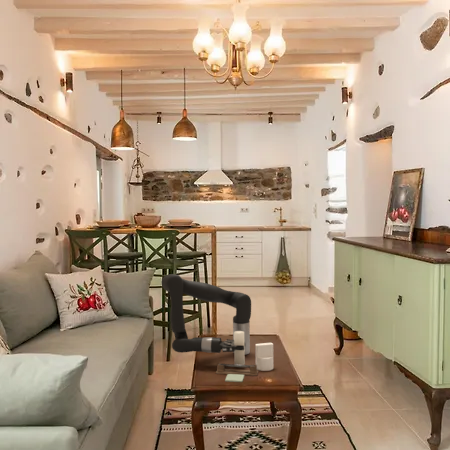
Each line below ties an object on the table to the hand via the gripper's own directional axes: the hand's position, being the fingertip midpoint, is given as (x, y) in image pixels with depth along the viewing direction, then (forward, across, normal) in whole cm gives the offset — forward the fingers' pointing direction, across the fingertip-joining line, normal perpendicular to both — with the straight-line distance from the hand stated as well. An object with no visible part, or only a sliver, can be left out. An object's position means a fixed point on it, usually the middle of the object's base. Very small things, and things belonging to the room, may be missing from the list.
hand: (244, 346), depth 232 cm
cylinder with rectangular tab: (+10, +1, +11) cm, 15 cm away
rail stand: (-3, -8, +11) cm, 14 cm away
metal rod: (-3, -8, +8) cm, 12 cm away
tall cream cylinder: (-3, 0, +9) cm, 9 cm away
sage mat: (-3, -16, +11) cm, 19 cm away
